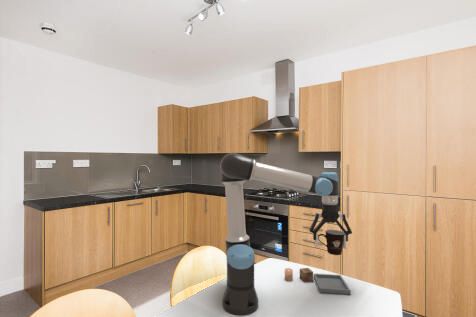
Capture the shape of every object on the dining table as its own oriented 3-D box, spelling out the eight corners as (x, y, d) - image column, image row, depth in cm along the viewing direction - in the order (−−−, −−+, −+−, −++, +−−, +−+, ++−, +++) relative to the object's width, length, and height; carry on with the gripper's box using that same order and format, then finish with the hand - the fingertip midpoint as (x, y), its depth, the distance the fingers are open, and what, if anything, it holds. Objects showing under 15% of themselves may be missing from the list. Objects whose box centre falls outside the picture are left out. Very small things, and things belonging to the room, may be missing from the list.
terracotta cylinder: (285, 281, 125) (285, 271, 125) (284, 277, 129) (284, 268, 129) (293, 281, 125) (292, 271, 125) (292, 278, 129) (292, 268, 129)
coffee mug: (345, 252, 121) (345, 231, 121) (342, 257, 114) (342, 235, 114) (321, 247, 127) (321, 227, 127) (316, 252, 120) (317, 231, 120)
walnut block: (304, 282, 124) (304, 272, 124) (299, 278, 129) (299, 268, 129) (313, 281, 125) (313, 271, 125) (308, 277, 130) (308, 267, 130)
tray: (319, 293, 114) (319, 288, 114) (313, 277, 129) (313, 273, 129) (350, 295, 112) (350, 290, 112) (340, 279, 127) (340, 275, 127)
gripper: (305, 204, 119) (305, 248, 119) (358, 205, 116) (359, 251, 115) (303, 201, 127) (303, 243, 126) (353, 202, 123) (354, 245, 123)
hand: (330, 247), depth 121 cm, fingers closed on coffee mug, 12 cm apart
